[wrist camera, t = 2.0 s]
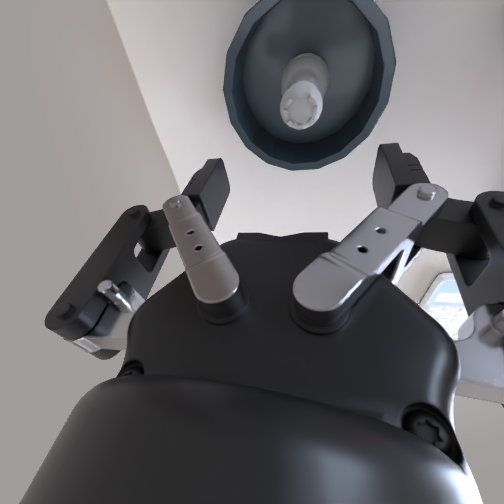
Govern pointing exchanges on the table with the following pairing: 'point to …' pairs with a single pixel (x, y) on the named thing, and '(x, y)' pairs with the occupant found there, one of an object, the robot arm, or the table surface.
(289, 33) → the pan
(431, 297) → the calculator
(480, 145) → the table surface
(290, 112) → the rook chess piece
